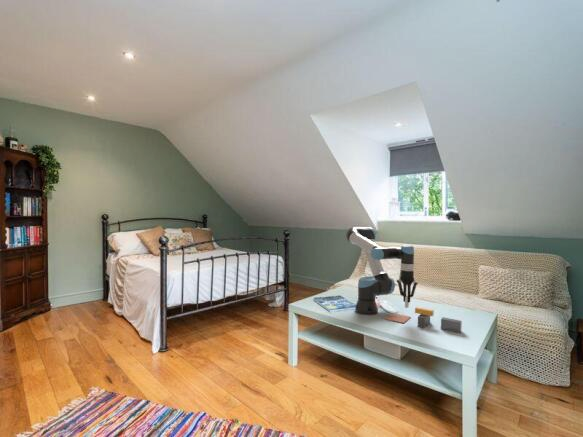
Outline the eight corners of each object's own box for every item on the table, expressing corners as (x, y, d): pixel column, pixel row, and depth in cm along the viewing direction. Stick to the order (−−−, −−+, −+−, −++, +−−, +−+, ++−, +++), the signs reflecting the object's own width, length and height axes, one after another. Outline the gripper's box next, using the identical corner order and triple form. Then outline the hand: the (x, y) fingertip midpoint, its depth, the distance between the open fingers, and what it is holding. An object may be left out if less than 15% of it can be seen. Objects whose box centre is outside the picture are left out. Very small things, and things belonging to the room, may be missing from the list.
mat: (384, 319, 196) (384, 318, 196) (392, 313, 207) (392, 312, 207) (403, 323, 188) (403, 322, 188) (410, 317, 199) (410, 316, 199)
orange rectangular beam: (414, 312, 190) (415, 308, 190) (416, 311, 192) (416, 306, 192) (432, 316, 183) (432, 311, 183) (433, 315, 186) (433, 310, 186)
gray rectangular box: (441, 329, 180) (441, 318, 180) (442, 327, 183) (442, 317, 183) (460, 333, 174) (460, 322, 174) (461, 331, 177) (461, 320, 177)
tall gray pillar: (417, 326, 184) (417, 316, 184) (423, 321, 194) (423, 311, 194) (424, 328, 182) (424, 318, 182) (430, 322, 191) (430, 313, 191)
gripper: (394, 269, 195) (394, 306, 195) (416, 272, 187) (415, 310, 187) (398, 268, 201) (398, 303, 201) (419, 270, 193) (419, 307, 193)
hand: (406, 307), depth 194 cm, fingers closed
